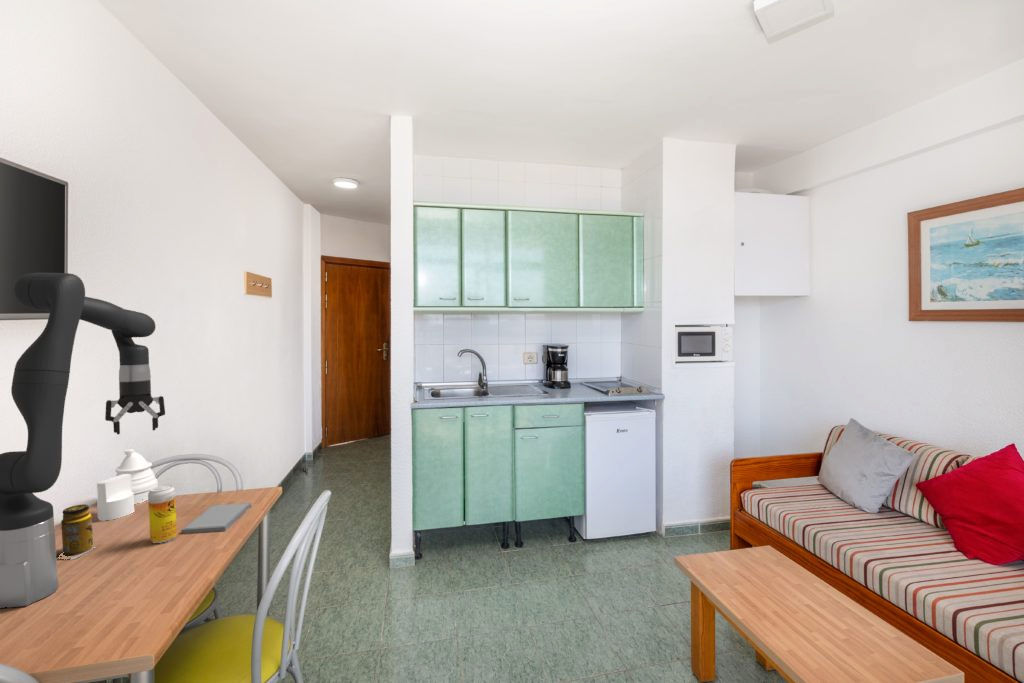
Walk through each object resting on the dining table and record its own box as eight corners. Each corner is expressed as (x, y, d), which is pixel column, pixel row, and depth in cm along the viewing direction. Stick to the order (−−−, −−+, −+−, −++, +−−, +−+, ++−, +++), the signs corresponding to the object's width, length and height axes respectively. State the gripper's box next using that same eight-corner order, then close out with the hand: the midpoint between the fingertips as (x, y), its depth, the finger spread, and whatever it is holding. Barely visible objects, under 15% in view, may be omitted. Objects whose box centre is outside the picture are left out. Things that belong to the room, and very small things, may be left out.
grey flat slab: (225, 530, 137) (225, 526, 137) (181, 533, 136) (181, 529, 136) (251, 506, 155) (251, 502, 155) (212, 508, 154) (212, 505, 154)
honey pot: (144, 504, 158) (141, 452, 157) (102, 507, 156) (98, 455, 155) (166, 491, 171) (163, 442, 170) (127, 493, 169) (124, 444, 168)
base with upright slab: (117, 508, 155) (115, 473, 154) (141, 509, 154) (139, 474, 153) (90, 520, 146) (87, 483, 146) (114, 521, 145) (112, 484, 144)
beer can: (166, 544, 129) (163, 491, 129) (145, 544, 130) (142, 492, 129) (182, 534, 136) (179, 484, 135) (161, 534, 136) (159, 484, 135)
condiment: (102, 544, 130) (99, 502, 130) (74, 559, 122) (71, 515, 121) (75, 545, 130) (72, 503, 130) (46, 560, 122) (43, 516, 121)
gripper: (103, 382, 135) (105, 437, 135) (164, 378, 144) (166, 430, 144) (104, 380, 141) (106, 433, 141) (163, 377, 150) (164, 427, 150)
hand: (136, 431), depth 143 cm, fingers open, 8 cm apart
